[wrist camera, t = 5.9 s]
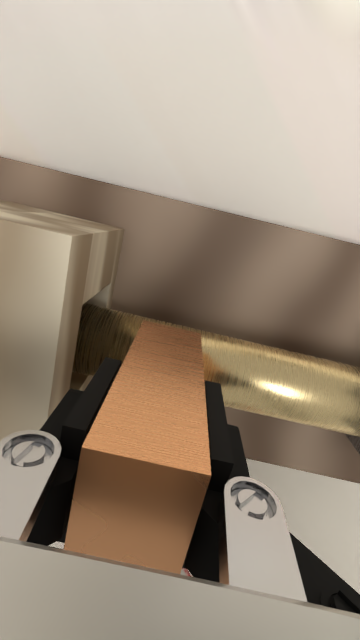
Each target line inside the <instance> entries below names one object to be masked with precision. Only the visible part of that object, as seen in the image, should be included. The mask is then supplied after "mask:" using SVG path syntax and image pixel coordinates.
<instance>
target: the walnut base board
mask: <svg viewBox="0 0 360 640" xmlns="http://www.w3.org/2000/svg"><path fill="white" fill-rule="evenodd" d="M0 201H9V202H14V203H18V204H23V205H27V206H31V207H35V208H39V209H43V210H47V211H52V212H56V213H60V214H64V215H68V216H72V217H76V218H81V219H85V220H89V221H93V222H97V223H101V224H105V225H110V226H114V227H118V228H122V229H125V230H124V235H123V241H122V247H121V252H120V258H119V263H118V269H117V275H116V280H115V286H114V291H113V297H112V303H111V308H110V309H113V310H117V311H121V312H126V313H130V314H134V315H138V316H143V317H147V318H151V319H156V320H160V321H164V322H168V323H173V324H177V325H181V326H185V327H190V328H194V329H198V330H203V331H207V332H211V333H215V334H220V335H224V336H228V337H233V338H237V339H241V340H245V341H250V342H254V343H258V344H263V345H267V346H271V347H275V348H280V349H284V350H288V351H292V352H297V353H301V354H305V355H310V356H314V357H318V358H322V359H327V360H331V361H335V362H340V363H344V364H348V365H352V366H357V367H360V245H357V244H353V243H349V242H345V241H341V240H337V239H333V238H329V237H325V236H321V235H316V234H312V233H308V232H304V231H300V230H296V229H292V228H288V227H284V226H280V225H276V224H272V223H268V222H264V221H259V220H255V219H251V218H247V217H243V216H239V215H235V214H231V213H227V212H223V211H219V210H215V209H211V208H206V207H202V206H198V205H194V204H190V203H186V202H182V201H178V200H174V199H170V198H166V197H162V196H158V195H154V194H149V193H145V192H141V191H137V190H133V189H129V188H125V187H121V186H117V185H113V184H109V183H105V182H101V181H96V180H92V179H88V178H84V177H80V176H76V175H72V174H68V173H64V172H60V171H56V170H52V169H48V168H44V167H39V166H35V165H31V164H27V163H23V162H19V161H15V160H11V159H7V158H3V157H0ZM224 407H225V406H224ZM225 413H226V419H227V424H229V425H234V426H237V427H238V428H239V431H240V436H241V440H242V445H243V449H244V454H245V458H248V459H252V460H257V461H261V462H266V463H270V464H275V465H279V466H284V467H288V468H293V469H297V470H302V471H306V472H311V473H315V474H320V475H324V476H329V477H333V478H338V479H342V480H347V481H351V482H356V483H360V454H359V453H358V452H357V450H356V449H355V447H354V446H353V445H352V443H351V442H350V440H349V439H348V438H347V436H346V435H345V434H344V433H340V432H336V431H331V430H327V429H322V428H318V427H314V426H309V425H305V424H300V423H296V422H292V421H287V420H283V419H278V418H274V417H270V416H265V415H261V414H256V413H252V412H247V411H243V410H239V409H234V408H230V407H225Z"/></svg>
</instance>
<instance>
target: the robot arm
mask: <svg viewBox="0 0 360 640" xmlns="http://www.w3.org/2000/svg"><path fill="white" fill-rule="evenodd" d="M121 364H122V361H120V360H116V359H112V358H108V357H105V359H104V360H103V362H102V363H101V365H100V367H99V368H98V370H97V371H96V373H95V375H94V376H93V378H92V379H91V381H90V382H89V384H88V386H87V387H86V389H85V390H84V391H81V390H76V389H69V390H68V392H67V393H66V394H65V396H64V397H63V399H62V400H61V401H60V403H59V404H58V405H57V407H56V408H55V410H54V411H53V412H52V414H51V415H50V416H49V418H48V419H47V421H46V422H45V423H44V425H43V426H42V427H41V429H40V430H24V431H19V432H16V433H12V434H10V435H9V436H7V437H5V438H3V439H2V440H1V441H0V640H360V595H359V594H358V593H357V592H356V591H355V590H354V589H353V588H352V587H350V586H349V585H348V584H347V583H346V582H345V581H344V580H343V579H341V578H340V577H339V576H338V575H337V574H336V573H335V572H334V571H332V570H331V569H330V568H329V567H328V566H327V565H326V564H325V563H323V562H322V561H321V560H320V559H319V558H318V557H317V556H316V555H314V554H313V553H312V552H311V551H310V550H309V549H308V548H307V547H305V546H304V545H303V544H302V543H301V542H300V541H299V540H298V539H296V538H295V537H294V536H293V535H292V534H291V533H290V532H289V529H288V525H287V522H286V518H285V514H284V510H283V506H282V504H281V502H280V499H279V498H278V497H277V495H276V494H275V493H274V492H273V491H272V490H271V489H270V488H269V487H268V486H267V485H265V484H263V483H262V482H260V481H258V480H255V479H253V478H250V476H249V472H248V467H247V463H246V458H245V454H244V449H243V445H242V440H241V436H240V431H239V428H238V427H237V426H234V425H229V424H227V419H226V413H225V407H224V401H223V395H222V389H221V384H219V383H215V382H211V381H207V380H204V383H205V397H206V410H207V424H208V438H209V451H210V465H211V478H210V481H209V485H208V488H207V491H206V494H205V497H204V500H203V503H202V507H201V510H200V513H199V516H198V519H197V522H196V526H195V529H194V532H193V535H192V538H191V541H190V544H189V548H188V551H187V554H186V557H185V560H184V563H183V567H182V568H185V569H188V570H189V571H190V573H191V574H192V575H193V576H194V577H191V576H186V575H181V574H177V573H172V572H167V571H163V570H158V569H153V568H149V567H144V566H139V565H135V564H130V563H125V562H121V561H116V560H111V559H106V558H102V557H97V556H92V555H87V554H83V553H78V552H73V551H69V550H64V549H59V548H54V547H49V546H48V545H50V544H52V543H54V542H56V541H58V542H63V543H65V539H66V533H67V528H68V522H69V516H70V510H71V505H72V499H73V493H74V488H75V482H76V476H77V470H78V465H79V459H80V453H81V447H82V445H83V443H84V441H85V439H86V437H87V435H88V433H89V431H90V429H91V427H92V425H93V423H94V421H95V419H96V417H97V415H98V413H99V410H100V408H101V406H102V404H103V402H104V400H105V398H106V396H107V394H108V392H109V390H110V388H111V386H112V384H113V382H114V380H115V378H116V376H117V374H118V372H119V370H120V367H121Z"/></svg>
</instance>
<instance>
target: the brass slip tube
mask: <svg viewBox="0 0 360 640" xmlns="http://www.w3.org/2000/svg"><path fill="white" fill-rule="evenodd" d="M105 357H108V358H112V359H116V360H120V361H122V364H121V367H120V370H119V372H118V374H117V376H116V378H115V380H114V382H113V384H112V386H111V388H110V390H109V392H108V394H107V396H106V398H105V400H104V402H103V404H102V406H101V408H100V410H99V413H98V415H97V417H96V419H95V421H94V423H93V425H92V427H91V429H90V431H89V433H88V435H87V437H86V439H85V441H84V443H83V445H82V447H81V453H80V459H79V465H78V470H77V476H76V482H75V488H74V493H73V499H72V505H71V510H70V516H69V522H68V528H67V533H66V539H65V545H64V550H69V551H73V552H78V553H83V554H87V555H92V556H97V557H102V558H106V559H111V560H116V561H121V562H125V563H130V564H135V565H139V566H144V567H149V568H153V569H158V570H163V571H167V572H172V573H177V574H180V573H181V570H182V567H183V563H184V560H185V557H186V554H187V551H188V548H189V544H190V541H191V538H192V535H193V532H194V529H195V526H196V522H197V519H198V516H199V513H200V510H201V507H202V503H203V500H204V497H205V494H206V491H207V488H208V485H209V481H210V478H211V465H210V451H209V438H208V424H207V410H206V397H205V383H204V380H207V381H211V382H215V383H219V384H221V389H222V395H223V401H224V406H225V407H230V408H234V409H239V410H243V411H247V412H252V413H256V414H261V415H265V416H270V417H274V418H278V419H283V420H287V421H292V422H296V423H300V424H305V425H309V426H314V427H318V428H322V429H327V430H331V431H336V432H340V433H344V434H349V435H353V436H358V437H360V367H357V366H352V365H348V364H344V363H340V362H335V361H331V360H327V359H322V358H318V357H314V356H310V355H305V354H301V353H297V352H292V351H288V350H284V349H280V348H275V347H271V346H267V345H263V344H258V343H254V342H250V341H245V340H241V339H237V338H233V337H228V336H224V335H220V334H215V333H211V332H207V331H203V330H198V329H194V328H190V327H185V326H181V325H177V324H173V323H168V322H164V321H160V320H156V319H151V318H147V317H143V316H138V315H134V314H130V313H126V312H121V311H117V310H113V309H108V308H104V307H100V306H96V305H91V304H87V303H84V304H83V305H82V310H81V317H80V323H79V330H78V336H77V343H76V349H75V356H74V362H73V369H72V372H76V373H80V374H84V375H89V376H94V375H95V373H96V371H97V370H98V368H99V367H100V365H101V363H102V362H103V360H104V359H105Z"/></svg>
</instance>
